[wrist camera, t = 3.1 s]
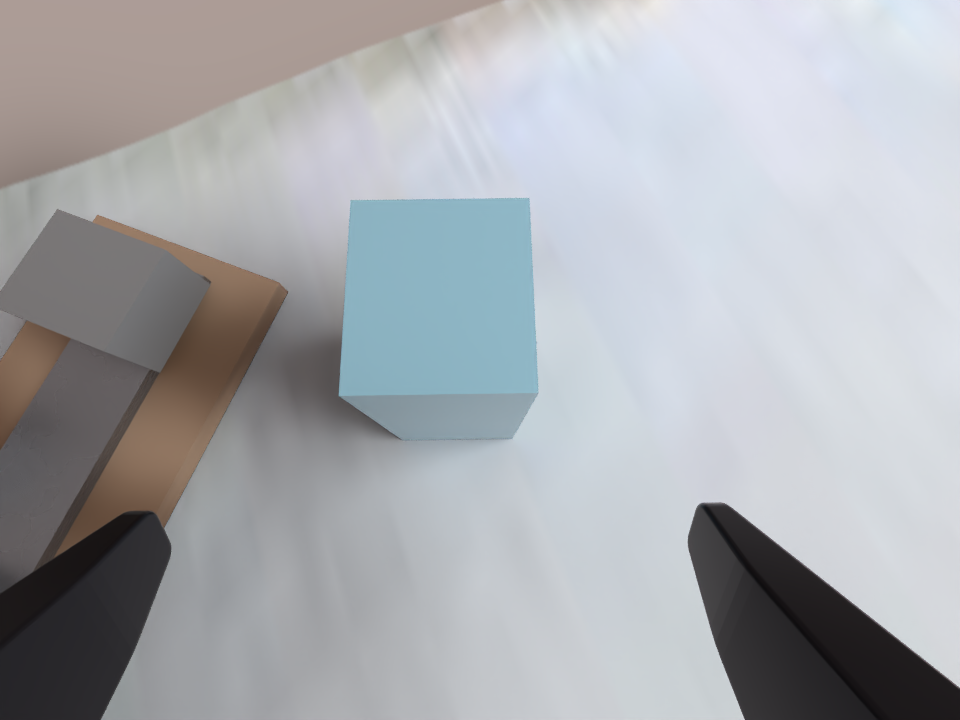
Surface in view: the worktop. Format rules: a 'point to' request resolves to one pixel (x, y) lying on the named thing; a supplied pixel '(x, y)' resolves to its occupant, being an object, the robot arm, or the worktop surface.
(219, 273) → the board
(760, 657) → the robot arm
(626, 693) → the worktop surface
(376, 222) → the block
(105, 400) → the rail
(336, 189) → the worktop surface
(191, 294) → the mounted modules
